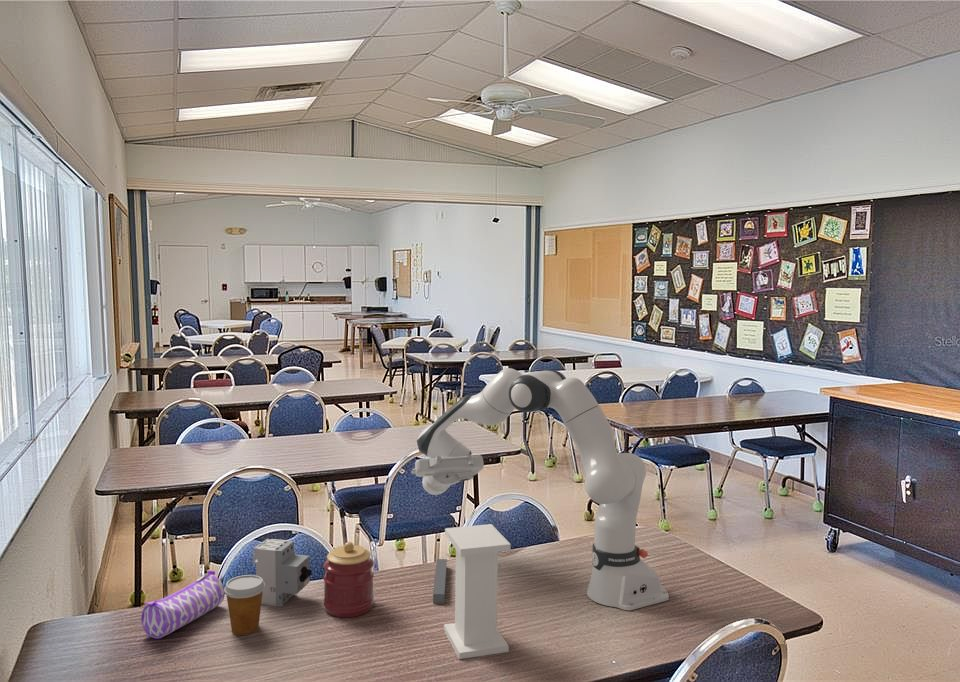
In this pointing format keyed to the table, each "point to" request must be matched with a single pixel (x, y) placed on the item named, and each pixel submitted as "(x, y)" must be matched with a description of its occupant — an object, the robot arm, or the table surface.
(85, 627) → the table surface
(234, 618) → the disposable coffee cup
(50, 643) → the table surface
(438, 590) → the bar
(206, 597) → the pencil case
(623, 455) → the robot arm
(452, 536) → the stand
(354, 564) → the canister
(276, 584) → the circuit breaker
